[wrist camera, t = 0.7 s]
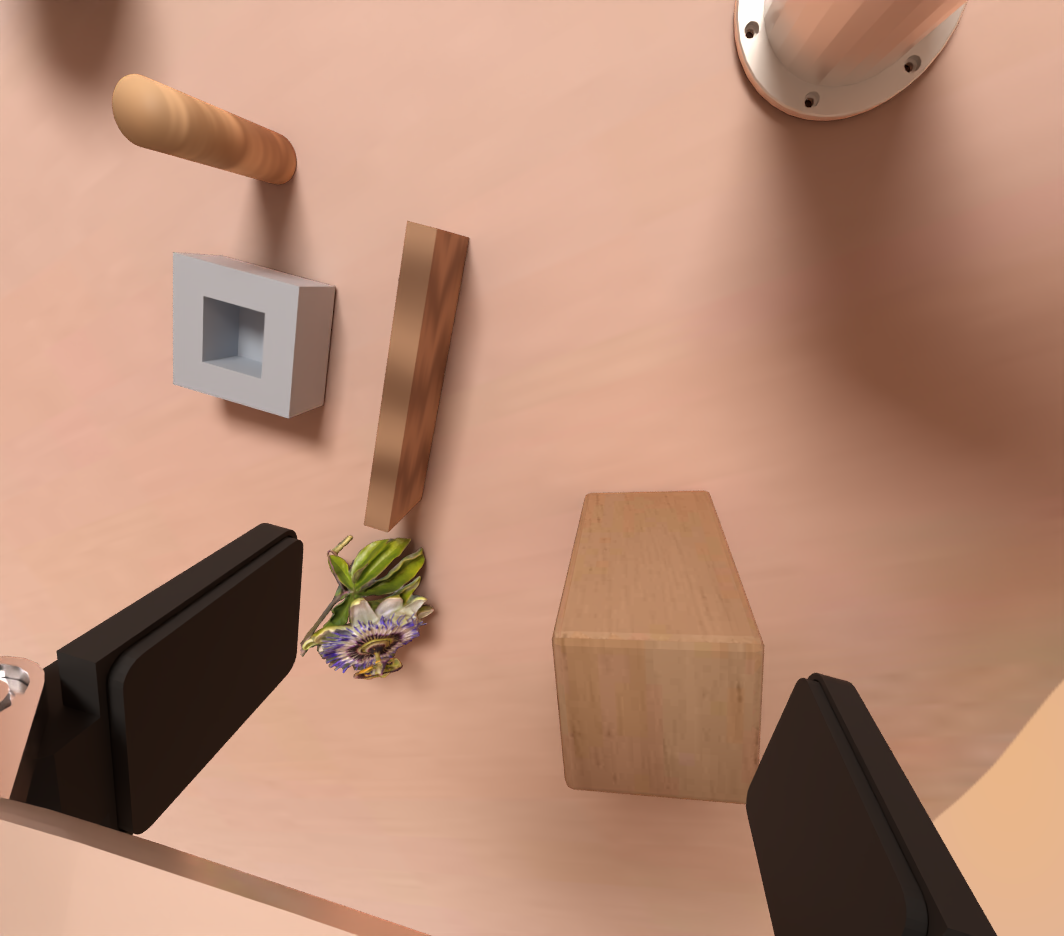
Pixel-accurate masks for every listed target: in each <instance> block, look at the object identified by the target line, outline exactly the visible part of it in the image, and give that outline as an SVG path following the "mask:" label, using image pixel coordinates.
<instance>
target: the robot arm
mask: <svg viewBox="0 0 1064 936" xmlns="http://www.w3.org/2000/svg"><path fill="white" fill-rule="evenodd" d="M967 1H968V0H736V3H735V10H734V33H735V41H736V46H737V51H738V55H739V59H740V61H741V64H742V66H743V69H744V71H745V73H746V76H747V77H748V79H749V80H750V82H751V83H752V85H753V86H754V88H755V89H756V90H757V92H758V93H759V94H760V95H761V96H762V97H763V98H765V99H766V100H767V101H768V102H769V103H770V104H771V105H772V106H774V107H776V108H778V109H779V110H781V111H783V112H785V113H787V114H789V115H792V116H795V117H799V118H803V119H806V120H819V121H830V120H837V119H844V118H849V117H852V116H855V115H858V114H861V113H864V112H867V111H869V110H871V109H873V108H875V107H877V106H879V105H880V104H882V103H884V102H886V101H888V100H890V99H891V98H892V97H894V96H895V95H896V94H898V93H899V92H901V91H902V90H903V89H905V88H906V87H907V86H909V85H910V84H911V83H912V82H913V81H914V80H916V79H917V78H918V77H919V76H920V75H921V74H922V73H923V72H924V71H925V70H926V69H927V68H928V67H929V65H930V64H931V63H932V62H933V61H934V59H935V58H936V57H937V56H938V55H939V53H940V52H941V51H942V50H943V48H944V46H945V45H946V43H947V42H948V40H949V38H950V37H951V35H952V33H953V32H954V30H955V29H956V27H957V25H958V22H959V20H960V18H961V15H962V13H963V11H964V8H965V6H966V4H967ZM747 32H751V33H752V34H753V38H751V39H748V38H747V37H746V36H745V34H746V33H747ZM904 65H908V66H909V67H910V71H909V73H908V72H907V71H906V70H905V68H904ZM806 100H810V101H811V103H812V105H811V107H810V108H808V107H806V106H805V101H806ZM302 562H303V543H302V541H301V540H298V539H297V535H296V533H295V532H294V531H293V530H290V529H287V528H283V527H279V526H276V525H272V524H268V523H262V524H260V525H258V526H256V527H255V528H253V529H252V530H250V531H248V532H247V533H245V534H244V535H242V536H240V537H239V538H237V539H236V540H234V541H232V542H231V543H229V544H228V545H226V546H224V547H223V548H221V549H220V550H218V551H216V552H215V553H213V554H211V555H210V556H208V557H207V558H205V559H203V560H202V561H200V562H199V563H197V564H195V565H194V566H192V567H191V568H189V569H187V570H186V571H184V572H183V573H181V574H179V575H178V576H176V577H175V578H173V579H171V580H170V581H168V582H167V583H165V584H163V585H162V586H160V587H159V588H157V589H155V590H154V591H152V592H151V593H149V594H147V595H146V596H144V597H142V598H141V599H139V600H138V601H136V602H134V603H133V604H131V605H130V606H128V607H126V608H125V609H123V610H122V611H120V612H118V613H117V614H115V615H114V616H112V617H110V618H109V619H107V620H106V621H104V622H102V623H101V624H99V625H98V626H96V627H94V628H93V629H91V630H90V631H88V632H86V633H85V634H83V635H82V636H80V637H78V638H77V639H75V640H73V641H72V642H70V643H69V644H67V645H65V646H64V647H62V648H61V649H59V650H57V659H58V660H56V661H55V662H53V663H52V664H50V665H48V666H47V667H45V668H44V669H42V668H41V667H40V666H39V664H38V663H36V662H33V661H31V660H28V659H26V658H20V657H11V656H2V657H0V936H431V935H428V934H425V933H422V932H419V931H416V930H413V929H410V928H407V927H405V926H402V925H399V924H396V923H393V922H390V921H387V920H384V919H381V918H378V917H375V916H372V915H369V914H366V913H364V912H361V911H358V910H355V909H352V908H349V907H346V906H343V905H340V904H337V903H334V902H331V901H328V900H325V899H322V898H319V897H316V896H313V895H310V894H308V893H305V892H302V891H299V890H296V889H293V888H290V887H287V886H284V885H281V884H278V883H275V882H272V881H269V880H266V879H263V878H260V877H257V876H254V875H251V874H248V873H245V872H242V871H239V870H236V869H233V868H230V867H227V866H224V865H221V864H218V863H215V862H212V861H209V860H206V859H203V858H200V857H197V856H194V855H191V854H188V853H185V852H182V851H179V850H176V849H173V848H170V847H167V846H164V845H161V844H158V843H155V842H152V841H149V840H146V839H143V838H139V837H136V836H133V833H134V834H141V833H143V832H144V831H146V830H147V829H148V828H149V827H150V826H151V825H152V824H153V823H154V822H155V821H156V820H157V819H158V818H159V817H160V816H161V814H162V813H163V812H164V811H165V810H166V809H167V808H168V807H169V806H170V804H171V803H172V802H173V801H174V800H175V799H176V798H177V797H178V796H179V794H180V793H181V792H182V791H183V790H184V789H185V788H186V787H187V786H188V784H189V783H190V782H191V781H192V780H193V779H194V778H195V777H196V776H197V774H198V773H199V772H200V771H201V770H202V769H203V768H204V767H205V765H206V764H207V763H208V762H209V761H210V760H211V759H212V758H213V757H214V755H215V754H216V753H217V752H218V751H219V750H220V749H221V748H222V747H223V745H224V744H225V743H226V742H227V741H228V740H229V739H230V738H231V737H232V735H233V734H234V733H235V732H236V731H237V730H238V729H239V728H240V727H241V725H242V724H243V723H244V722H245V721H246V720H247V719H248V718H249V717H250V715H251V714H252V713H253V712H254V711H255V710H256V709H257V708H258V707H259V705H260V704H261V703H262V702H263V701H264V700H265V699H266V698H267V697H268V695H269V694H270V693H271V692H272V691H273V690H274V689H275V688H276V687H277V685H278V684H279V683H280V682H281V681H282V680H283V679H284V678H285V677H286V675H287V674H288V673H289V672H290V670H291V668H292V667H293V664H294V662H295V659H296V654H297V641H298V625H299V609H300V593H301V578H302ZM746 809H747V815H748V820H749V824H750V828H751V833H752V837H753V842H754V846H755V851H756V855H757V859H758V864H759V868H760V873H761V877H762V881H763V886H764V890H765V895H766V899H767V904H768V908H769V912H770V917H771V921H772V926H773V930H774V935H775V936H997V935H996V933H995V931H994V930H993V928H992V926H991V924H990V923H989V921H988V919H987V917H986V916H985V914H984V912H983V910H982V908H981V907H980V905H979V903H978V902H977V900H976V898H975V896H974V895H973V893H972V891H971V889H970V888H969V886H968V884H967V882H966V881H965V879H964V877H963V875H962V874H961V872H960V870H959V869H958V867H957V865H956V863H955V861H954V860H953V858H952V856H951V855H950V853H949V851H948V849H947V847H946V846H945V844H944V842H943V840H942V839H941V837H940V835H939V834H938V832H937V830H936V828H935V827H934V825H933V823H932V821H931V819H930V818H929V816H928V814H927V812H926V811H925V809H924V807H923V805H922V804H921V802H920V800H919V798H918V797H917V795H916V793H915V791H914V790H913V788H912V786H911V785H910V783H909V781H908V779H907V778H906V776H905V774H904V772H903V771H902V769H901V767H900V765H899V764H898V762H897V760H896V758H895V757H894V755H893V753H892V751H891V750H890V748H889V746H888V744H887V743H886V741H885V739H884V737H883V736H882V734H881V732H880V730H879V729H878V727H877V725H876V723H875V722H874V720H873V718H872V716H871V715H870V713H869V711H868V709H867V708H866V706H865V704H864V702H863V701H862V699H861V697H860V695H859V694H858V692H857V690H856V688H855V687H854V686H853V685H852V683H850V682H848V681H844V680H841V679H837V678H833V677H830V676H826V675H822V674H819V673H813V674H812V675H810V676H809V678H808V679H805V678H801V679H799V680H798V681H797V683H796V685H795V687H794V689H793V691H792V694H791V696H790V698H789V700H788V702H787V705H786V707H785V709H784V711H783V713H782V716H781V718H780V720H779V722H778V724H777V727H776V729H775V731H774V733H773V735H772V738H771V740H770V742H769V744H768V746H767V749H766V751H765V753H764V755H763V757H762V760H761V762H760V764H759V766H758V768H757V771H756V773H755V775H754V777H753V779H752V782H751V784H750V786H749V789H748V792H747V798H746Z"/></svg>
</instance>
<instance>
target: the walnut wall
mask: <svg viewBox="0 0 1064 936" xmlns="http://www.w3.org/2000/svg"><path fill="white" fill-rule="evenodd" d="M468 242H469V238H468V237H465V236H461V235H458V234H454V233H451V232H447V231H444V230H440V229H437V228H433V227H429V226H425V225H421V224H417V223H413V222H410V221H407V226H406V233H405V240H404V247H403V254H402V261H401V268H400V275H399V282H398V289H397V296H396V303H395V310H394V317H393V324H392V331H391V338H390V345H389V352H388V359H387V366H386V373H385V380H384V387H383V395H382V402H381V409H380V416H379V423H378V430H377V437H376V444H375V451H374V458H373V465H372V472H371V479H370V486H369V493H368V500H367V507H366V514H365V521H364V525H365V526H369V527H372V528H375V529H378V530H382V531H385V532H389V531H390V530H391V529H392V528H393V527H394V526H395V525H396V524H397V523H398V522H399V521H400V520H401V519H402V518H403V517H404V516H405V515H406V514H407V513H408V512H409V511H410V510H411V509H412V508H413V507H414V506H415V505H416V504H417V503H418V502H419V501H420V500H421V499H422V494H423V488H424V483H425V477H426V472H427V466H428V461H429V455H430V450H431V444H432V439H433V433H434V428H435V422H436V417H437V412H438V406H439V401H440V395H441V390H442V384H443V379H444V373H445V368H446V362H447V357H448V351H449V346H450V340H451V335H452V329H453V324H454V318H455V313H456V307H457V302H458V296H459V291H460V285H461V280H462V274H463V269H464V263H465V258H466V253H467V247H468Z"/></svg>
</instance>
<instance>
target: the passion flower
mask: <svg viewBox="0 0 1064 936" xmlns="http://www.w3.org/2000/svg"><path fill="white" fill-rule="evenodd" d="M352 539H353V537H352V536H351V535H350V536H347V537H346V538H345V539H344V540H343V541H342V542H340V543H339V544H338V545H337V546H336V547H335V548H334V549H331V550H329V551H328V552H327V556H328V563H329V566H330V569H331V571H332V573H333V575H334V576H335V578H336V580H337V582H338V584H339V586H338V589H337V591H336V594H335V596H334V598H333V600H332V602H331V603H330V604H329V606H328V607H327V608H326V610H325V611H324V612H323V614H322V615H321V617H320V618H319V619H318V621H317V622H316V623H315V625H314V626H313V627H312V628H311V630H310V631H309V632H308V633H307V635H306V636H305V638H304V640H303V641H302V642H301V643H300V644H301V648H302V649H301V650H300V651H301V656H302V657H303V656H304V654H305V653H306V652H307V651H308V649H309V648H311V647H314V646H316V645H317V651H318V652H319V654H320V655H321V657H322V659H326V664H327V663H329V662H330V664H329V667H330V668H332V667H333V666H336V668H335V669H334V670H335V671H336V670H337V669H338V668H342V669H343V673H344V672H345V671H346V670H347V668H349V667H351V666H353V668H354V670H361V671H359V672H357V673H355V674H354V676H353V678H355V679H356V678H358V679H360V678H361V679H367V680H369V679H372V678H375V677H382V678H385V677H386V676H387V675H389V674H390V673H391V672H395V671H398V670H399V669H401V668H402V667H403V665H402V663H401V662H400V661H399V660H398V659H397V658H393V657H394V656H395V652H396V650H397V649H398V648H399V647H402V646H403V644H405V645H406V644H408V643H409V641H412V639H413V638H415V637H418V636H420V634H419V632H418V631H419V627H420V626H422V625H426V624H427V623H425V624H422V623H423V621H422V620H420V618H424V617H426V616H428V615H429V614H431V613H432V612H433V611H434V609H433V608H432V607H431V606H430V605H428V604H425V605H423V603H425V602H426V601H427V599H426V598H425V597H422V596H419V595H412V594H413V592H414V591H415V589H416V588H417V587H418V586H419V583H420V580H421V577H420V576H418V577H417V578H416V579H415V580H414V581H413V582H411V583H409V584H408V585H406V586H404V585H405V584H406V583H408V582H409V581H410V580H412V579H413V578H414V577H415V575H416V574H417V573H418V571H419V570H420V569H421V568H422V566H423V564H424V561H425V558H424V555H423V552H422V551H423V548H422V547H421V548H420V549H419V550H418V551H417V552H415V553H412V554H410V555H408V556H406V557H404V558H403V559H402V560H401V561H400V562H399V563H398V564H397V565H396V566H395V567H394V568H393V569H391V570H390V571H389V572H388V574H387V575H386V576H385V577H383V578H380V579H378V580H374V579H376V578H377V576H379V575H380V574H381V573H382V572H383V571H384V570H385V569H386V568H387V567H388V566H389V564H390V563H392V561H393V560H394V558H396V557H399V556H400V555H401V554H402V552H403V551H404V549H405V548H406V547H407V545H408V544H409V543H410V541H411V539H410V538H409V539H407V538H396V539H384V540H379V541H375V542H372V543H371V544H369V545H367V546H366V547H365V548H363V549H362V550H361V551H360V552H359V553H358V555H357V557H356V558H355V559H354V560H353V561H352V564H351V565H350V567H349V566H348V564H347V563H346V562H345V560H344V559H342V558H341V557H339V556H338V553H339V551H341V550H342V549H343V547H344V546H346V545H347V544H348V543H349V542H350V541H351V540H352ZM329 552H332V553H333V554H334V555H330V556H329ZM403 586H404V587H403ZM393 592H395V593H394V594H392V595H390V596H387V597H385V598H382V599H379V600H373V601H366V600H365V599H364V598H361V597H367V596H370V595H377V596H378V595H385V594H391V593H393ZM344 598H345V600H344V601H342V602H341V603H339V604H338V605H337V606H335V607H334V608H333V606H334V605H335V604H336V603H337V602H339V601H340V600H342V599H344ZM332 608H333V609H332ZM331 609H332V610H331ZM330 610H331V611H332V613H333V615H332V617H331V618H330V620H329V621H328V622H327V623H326V624H324V626H323V628H321V629H320V630H318V631H316V632H315V630H316V629H317V627H318V626H319V624H320V623H321V622H322V621H323V619H324V618H325V617H326V615H327V614H328V613H329V611H330ZM348 617H349V622H350V623H349V624H347V621H348ZM314 632H315V633H314ZM388 662H391V663H390V664H388ZM371 664H373V665H374V666H369V665H371ZM368 666H369V667H368Z"/></svg>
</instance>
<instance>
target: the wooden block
mask: <svg viewBox="0 0 1064 936" xmlns="http://www.w3.org/2000/svg"><path fill="white" fill-rule="evenodd" d="M552 646H553V656H554V667H555V678H556V688H557V699H558V710H559V720H560V731H561V742H562V752H563V763H564V774H565V780H566V783H567V785H568V787H570V788H572V789H576V790H587V791H599V792H610V793H622V794H633V795H645V796H657V797H668V798H680V799H691V800H703V801H714V802H726V803H737V804H746V798H747V792H748V789H749V786H750V784H751V782H752V779H753V777H754V775H755V773H756V771H757V768H758V766H759V747H760V726H761V704H762V683H763V662H764V644H763V641H762V638H761V636H760V633H759V630H758V627H757V624H756V622H755V619H754V616H753V613H752V610H751V608H750V605H749V602H748V599H747V597H746V594H745V591H744V588H743V585H742V583H741V580H740V577H739V574H738V571H737V569H736V566H735V563H734V560H733V558H732V555H731V552H730V549H729V546H728V544H727V541H726V538H725V535H724V532H723V530H722V527H721V524H720V521H719V519H718V516H717V513H716V510H715V507H714V505H713V502H712V499H711V496H710V494H709V492H706V491H674V492H629V493H590V494H587V495H586V497H585V500H584V504H583V508H582V512H581V517H580V521H579V525H578V530H577V534H576V538H575V542H574V547H573V551H572V555H571V560H570V564H569V568H568V572H567V577H566V581H565V585H564V589H563V594H562V598H561V602H560V607H559V611H558V615H557V619H556V624H555V628H554V632H553V637H552Z"/></svg>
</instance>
